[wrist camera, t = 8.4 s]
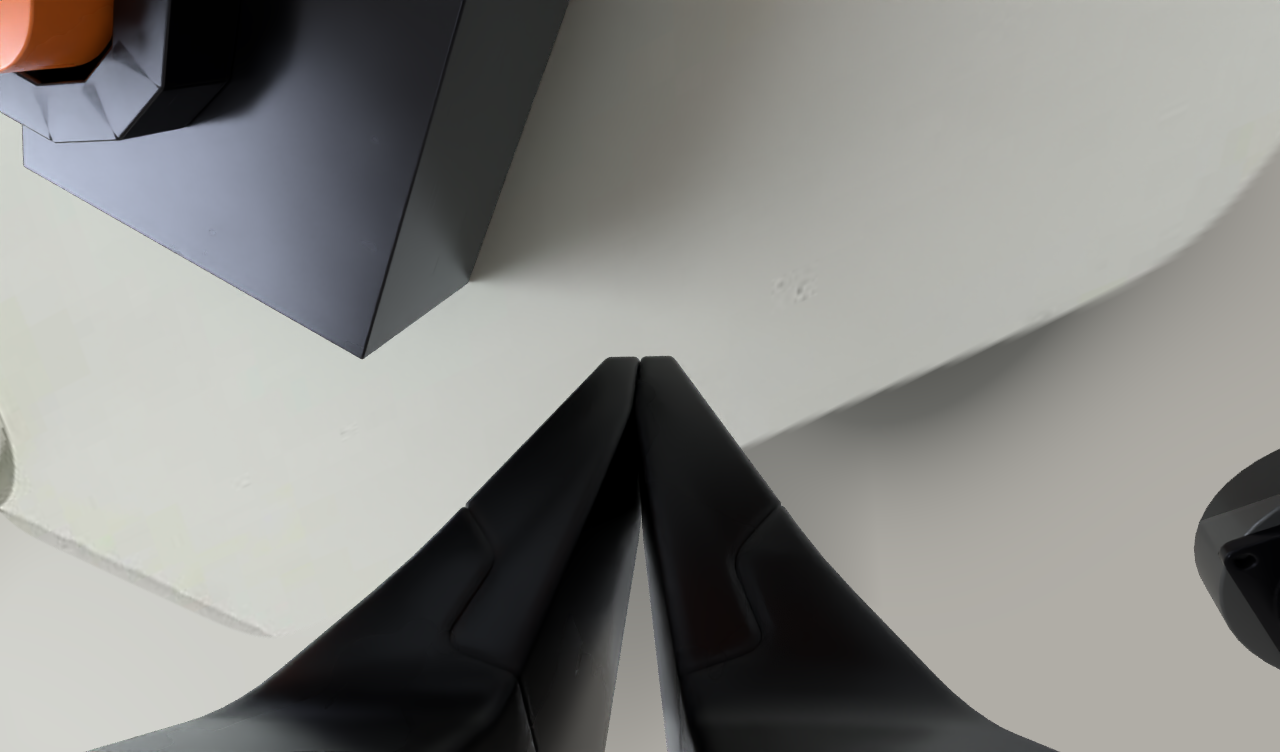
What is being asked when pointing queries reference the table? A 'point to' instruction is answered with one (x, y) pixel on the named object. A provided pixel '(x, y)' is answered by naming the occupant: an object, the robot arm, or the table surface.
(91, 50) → the button
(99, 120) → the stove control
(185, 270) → the table surface
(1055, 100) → the table surface
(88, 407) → the table surface
